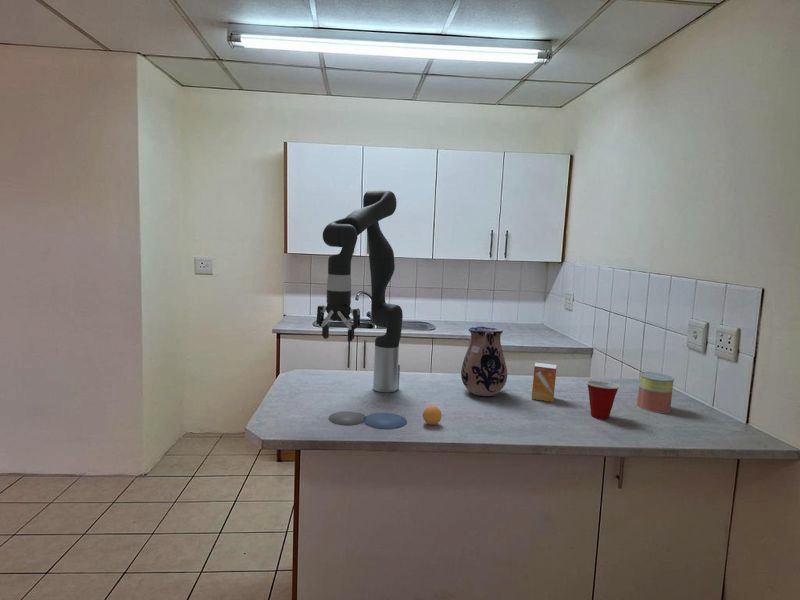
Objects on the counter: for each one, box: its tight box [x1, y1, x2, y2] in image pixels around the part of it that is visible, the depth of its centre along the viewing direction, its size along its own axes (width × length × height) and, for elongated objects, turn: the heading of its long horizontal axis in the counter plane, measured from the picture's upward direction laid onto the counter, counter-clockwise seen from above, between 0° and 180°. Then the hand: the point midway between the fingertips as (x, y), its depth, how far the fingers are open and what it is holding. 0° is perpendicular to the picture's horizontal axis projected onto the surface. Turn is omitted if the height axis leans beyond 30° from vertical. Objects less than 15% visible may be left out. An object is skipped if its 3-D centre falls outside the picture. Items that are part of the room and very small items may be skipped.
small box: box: [531, 362, 558, 403], centre depth 195 cm, size 8×6×13 cm
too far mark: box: [328, 410, 367, 426], centre depth 166 cm, size 12×12×1 cm
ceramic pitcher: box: [460, 325, 508, 397], centre depth 200 cm, size 18×21×25 cm
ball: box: [422, 405, 443, 426], centre depth 164 cm, size 6×6×6 cm
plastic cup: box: [586, 380, 621, 420], centre depth 178 cm, size 11×11×12 cm
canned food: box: [636, 371, 675, 414], centre depth 190 cm, size 11×11×12 cm
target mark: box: [363, 412, 408, 430], centre depth 165 cm, size 14×14×1 cm
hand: (337, 339), depth 163 cm, fingers open, 8 cm apart
